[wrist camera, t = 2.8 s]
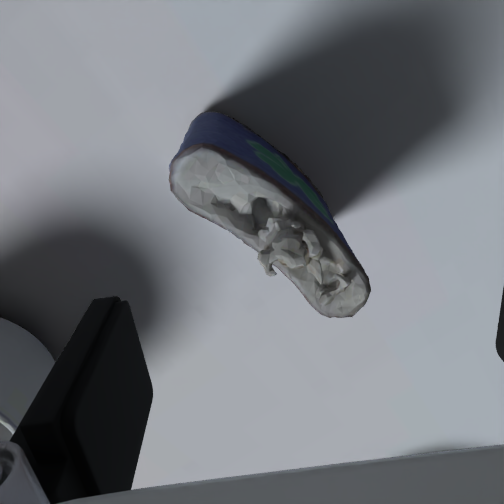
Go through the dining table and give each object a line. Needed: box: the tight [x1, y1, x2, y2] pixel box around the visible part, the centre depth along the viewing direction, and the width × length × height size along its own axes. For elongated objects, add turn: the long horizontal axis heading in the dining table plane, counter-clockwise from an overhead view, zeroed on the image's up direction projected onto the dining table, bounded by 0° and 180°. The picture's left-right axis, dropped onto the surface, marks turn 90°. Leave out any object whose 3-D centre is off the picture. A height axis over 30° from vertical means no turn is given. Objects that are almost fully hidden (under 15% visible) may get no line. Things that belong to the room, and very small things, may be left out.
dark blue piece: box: [169, 112, 371, 318], centre depth 18 cm, size 9×3×11 cm, turn 49°
